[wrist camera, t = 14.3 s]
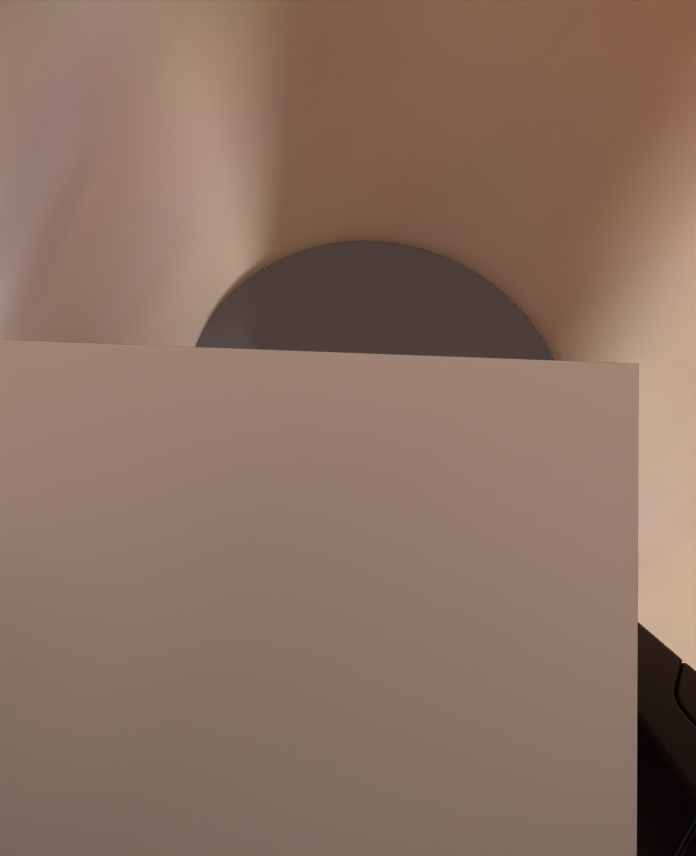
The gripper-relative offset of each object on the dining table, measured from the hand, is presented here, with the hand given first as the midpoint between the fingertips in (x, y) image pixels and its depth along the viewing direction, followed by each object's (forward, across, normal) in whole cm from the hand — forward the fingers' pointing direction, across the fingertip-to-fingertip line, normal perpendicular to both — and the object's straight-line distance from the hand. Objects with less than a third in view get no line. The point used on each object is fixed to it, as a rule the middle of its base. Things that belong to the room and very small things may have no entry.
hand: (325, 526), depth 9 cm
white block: (+2, 0, +3) cm, 4 cm away
